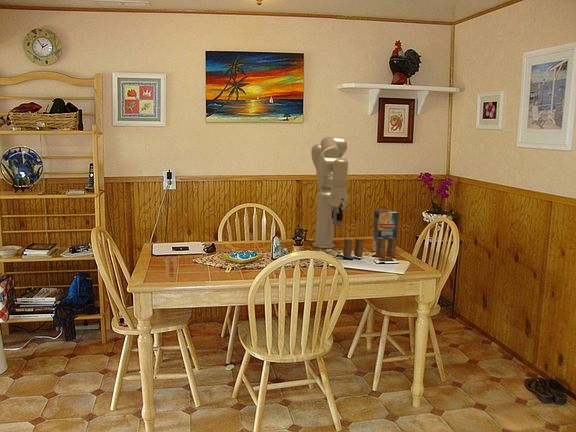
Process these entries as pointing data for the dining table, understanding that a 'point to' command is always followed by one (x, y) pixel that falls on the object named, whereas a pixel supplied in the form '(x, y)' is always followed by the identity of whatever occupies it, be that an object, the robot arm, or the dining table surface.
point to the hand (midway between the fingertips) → (336, 219)
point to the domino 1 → (335, 222)
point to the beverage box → (384, 226)
